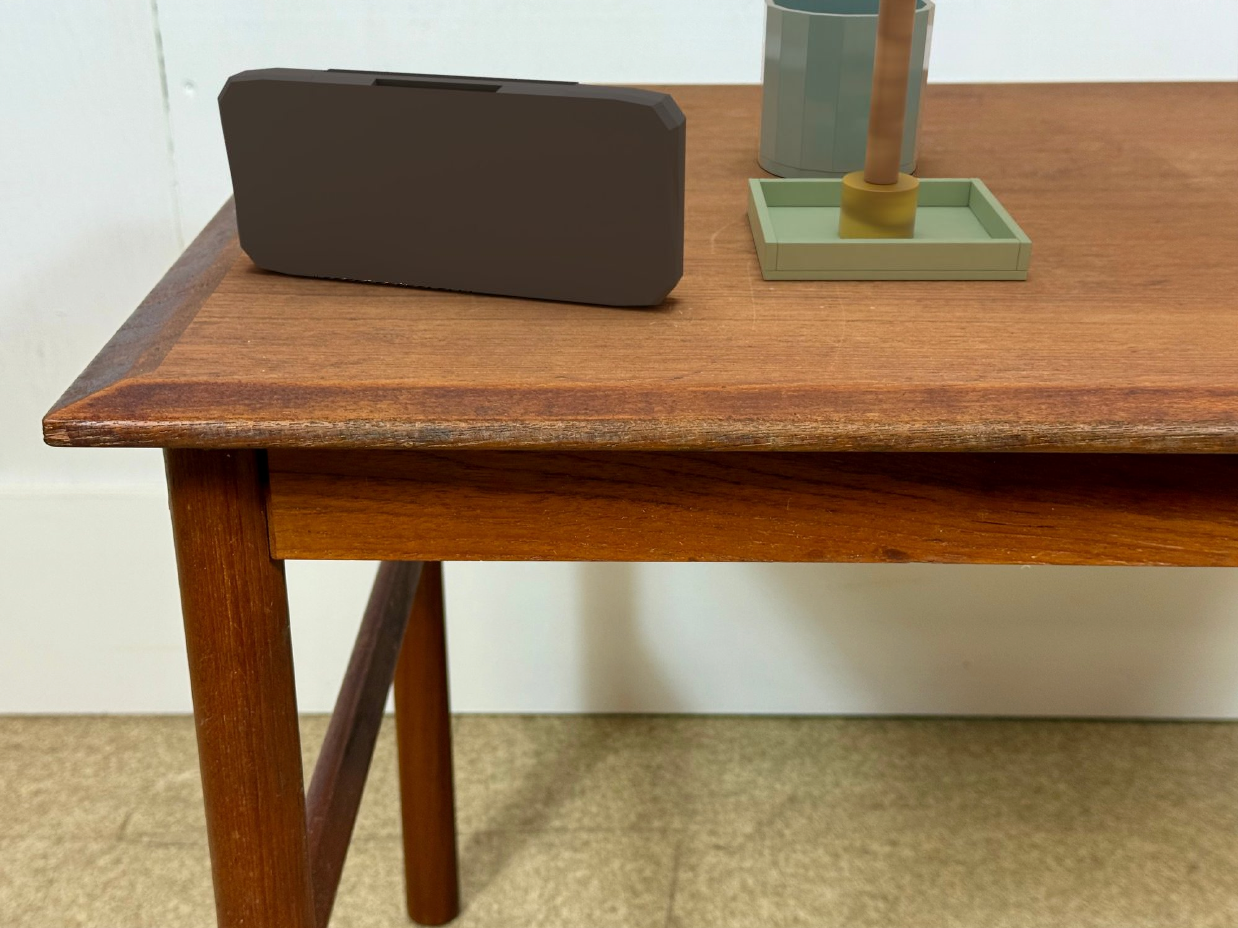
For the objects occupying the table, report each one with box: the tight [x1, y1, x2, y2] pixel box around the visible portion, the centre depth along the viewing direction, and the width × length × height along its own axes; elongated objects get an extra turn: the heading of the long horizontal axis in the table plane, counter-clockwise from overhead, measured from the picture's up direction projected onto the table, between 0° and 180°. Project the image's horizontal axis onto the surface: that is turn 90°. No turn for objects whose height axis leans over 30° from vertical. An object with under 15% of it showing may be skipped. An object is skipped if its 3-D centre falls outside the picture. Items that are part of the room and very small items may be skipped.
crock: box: [757, 0, 936, 179], centre depth 80 cm, size 10×10×10 cm
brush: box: [838, 0, 919, 239], centre depth 64 cm, size 4×4×18 cm
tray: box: [746, 177, 1033, 281], centre depth 68 cm, size 13×11×2 cm
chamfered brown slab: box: [216, 67, 687, 307], centre depth 61 cm, size 23×3×10 cm, turn 75°
